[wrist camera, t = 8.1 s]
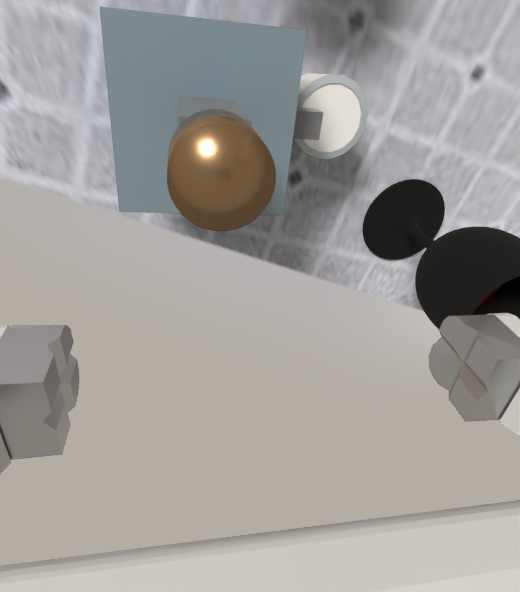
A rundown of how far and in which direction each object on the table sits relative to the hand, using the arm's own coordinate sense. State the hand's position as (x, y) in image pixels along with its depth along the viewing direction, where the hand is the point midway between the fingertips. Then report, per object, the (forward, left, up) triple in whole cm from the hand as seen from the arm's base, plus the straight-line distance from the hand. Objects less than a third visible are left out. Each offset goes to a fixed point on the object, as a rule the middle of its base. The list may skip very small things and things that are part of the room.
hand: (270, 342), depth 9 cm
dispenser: (-1, 0, -36) cm, 36 cm away
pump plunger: (0, 0, -22) cm, 22 cm away
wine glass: (-25, +12, -36) cm, 46 cm away
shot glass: (-11, 0, -36) cm, 38 cm away
